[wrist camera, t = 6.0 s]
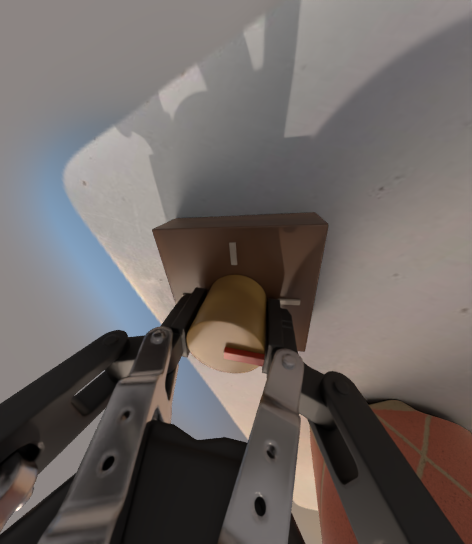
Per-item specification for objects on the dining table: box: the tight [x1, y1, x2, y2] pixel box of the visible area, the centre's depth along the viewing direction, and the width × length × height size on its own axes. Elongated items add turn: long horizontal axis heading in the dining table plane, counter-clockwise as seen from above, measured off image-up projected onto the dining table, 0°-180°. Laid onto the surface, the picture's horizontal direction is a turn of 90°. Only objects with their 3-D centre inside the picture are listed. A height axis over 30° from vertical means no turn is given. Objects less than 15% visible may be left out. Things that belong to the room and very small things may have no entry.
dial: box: [186, 275, 267, 373], centre depth 10 cm, size 4×4×4 cm
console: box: [152, 212, 328, 352], centre depth 13 cm, size 10×10×3 cm
